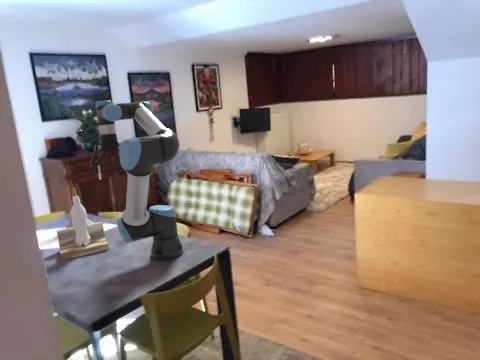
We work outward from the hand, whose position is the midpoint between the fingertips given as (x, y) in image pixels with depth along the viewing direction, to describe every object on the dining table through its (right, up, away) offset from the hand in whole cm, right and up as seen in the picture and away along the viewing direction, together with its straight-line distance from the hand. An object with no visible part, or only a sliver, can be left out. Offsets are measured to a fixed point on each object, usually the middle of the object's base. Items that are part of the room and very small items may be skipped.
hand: (114, 176), depth 200 cm
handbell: (-33, -30, +41) cm, 60 cm away
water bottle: (-17, -34, +6) cm, 39 cm away
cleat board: (-17, -37, +6) cm, 41 cm away
